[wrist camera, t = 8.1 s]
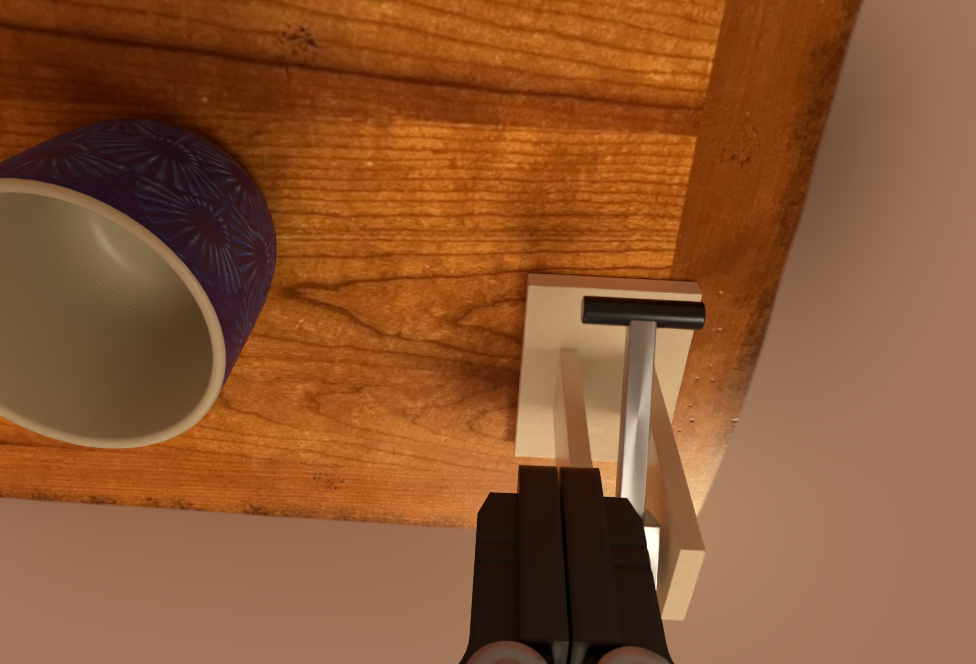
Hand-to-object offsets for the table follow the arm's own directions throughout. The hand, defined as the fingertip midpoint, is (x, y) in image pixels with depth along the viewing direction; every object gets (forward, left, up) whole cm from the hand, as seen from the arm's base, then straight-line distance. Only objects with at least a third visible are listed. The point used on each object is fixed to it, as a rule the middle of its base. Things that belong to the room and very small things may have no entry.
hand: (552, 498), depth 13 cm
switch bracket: (+3, +14, -24) cm, 28 cm away
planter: (+18, -5, -24) cm, 30 cm away
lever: (+1, +11, -14) cm, 18 cm away
